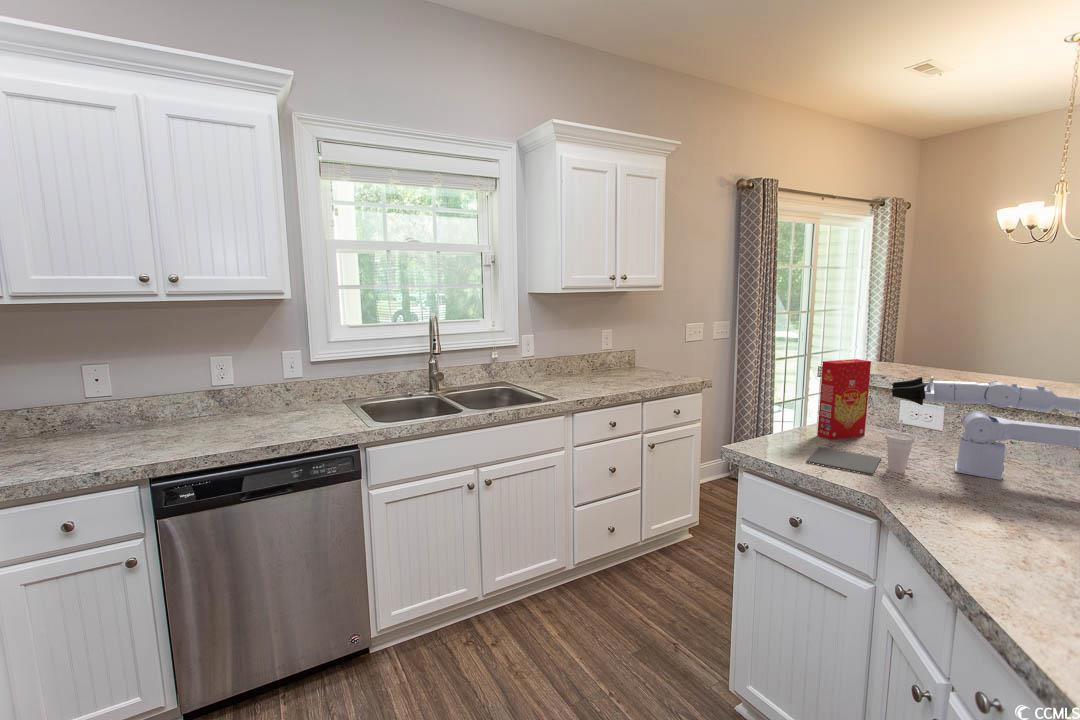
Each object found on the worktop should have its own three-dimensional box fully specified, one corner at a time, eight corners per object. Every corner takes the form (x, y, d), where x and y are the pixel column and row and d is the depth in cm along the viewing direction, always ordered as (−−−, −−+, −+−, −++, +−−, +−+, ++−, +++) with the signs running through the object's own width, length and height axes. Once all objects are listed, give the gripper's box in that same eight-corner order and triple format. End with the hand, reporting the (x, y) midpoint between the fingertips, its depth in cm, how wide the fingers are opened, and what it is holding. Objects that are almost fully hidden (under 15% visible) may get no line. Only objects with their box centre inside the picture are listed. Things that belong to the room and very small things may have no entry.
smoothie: (910, 469, 141) (915, 419, 139) (912, 476, 136) (917, 424, 133) (882, 465, 144) (886, 416, 142) (882, 472, 139) (887, 421, 137)
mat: (880, 459, 149) (881, 457, 149) (872, 475, 137) (872, 473, 137) (819, 448, 159) (819, 446, 159) (806, 462, 147) (806, 460, 147)
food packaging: (830, 439, 168) (836, 363, 164) (817, 435, 173) (822, 361, 169) (864, 435, 173) (871, 361, 169) (850, 431, 178) (856, 359, 174)
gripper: (952, 372, 145) (893, 370, 152) (956, 383, 133) (892, 380, 141) (951, 396, 146) (892, 393, 153) (955, 409, 134) (891, 405, 142)
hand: (892, 389), depth 147 cm, fingers open, 7 cm apart
